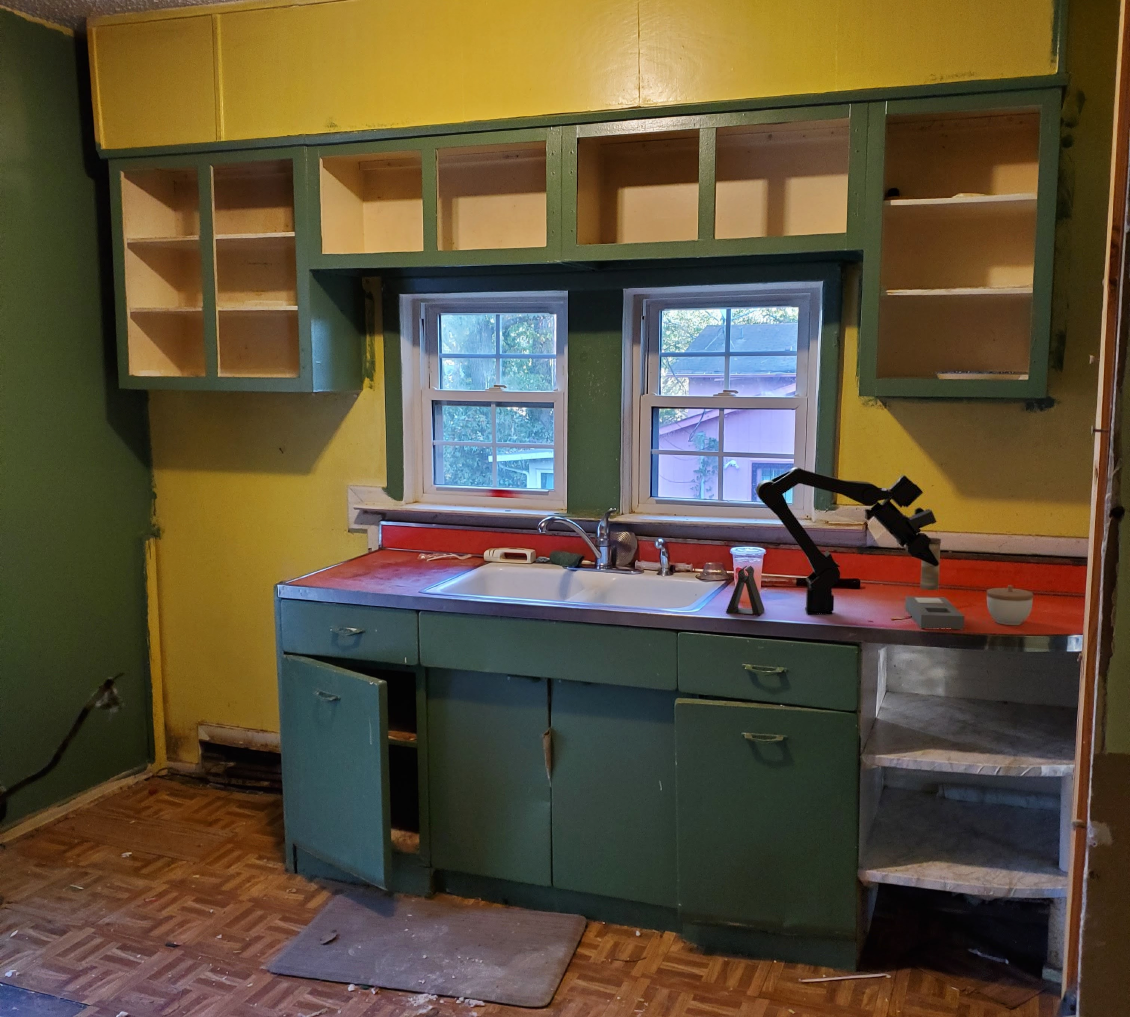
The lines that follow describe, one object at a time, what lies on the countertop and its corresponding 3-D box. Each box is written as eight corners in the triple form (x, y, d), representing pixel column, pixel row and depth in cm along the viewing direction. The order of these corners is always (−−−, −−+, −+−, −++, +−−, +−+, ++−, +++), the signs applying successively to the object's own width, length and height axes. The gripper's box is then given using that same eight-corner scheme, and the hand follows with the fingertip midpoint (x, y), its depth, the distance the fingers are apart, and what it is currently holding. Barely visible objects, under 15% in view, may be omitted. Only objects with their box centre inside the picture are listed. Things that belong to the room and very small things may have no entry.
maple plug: (926, 590, 269) (928, 540, 267) (916, 587, 273) (918, 537, 272) (942, 589, 270) (944, 539, 268) (932, 586, 274) (934, 537, 272)
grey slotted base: (920, 629, 256) (921, 614, 256) (905, 609, 278) (905, 595, 277) (963, 630, 255) (964, 615, 254) (944, 610, 276) (944, 596, 276)
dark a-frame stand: (764, 611, 277) (765, 566, 276) (759, 616, 272) (760, 570, 270) (731, 608, 281) (731, 564, 279) (725, 613, 275) (726, 568, 274)
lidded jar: (1034, 628, 256) (1036, 590, 255) (988, 626, 259) (989, 588, 258) (1028, 618, 267) (1030, 582, 265) (983, 616, 269) (984, 580, 268)
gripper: (923, 503, 260) (968, 547, 260) (910, 494, 278) (952, 536, 278) (889, 533, 262) (934, 578, 262) (879, 523, 280) (920, 565, 280)
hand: (935, 563), depth 270 cm, fingers closed on maple plug, 4 cm apart
